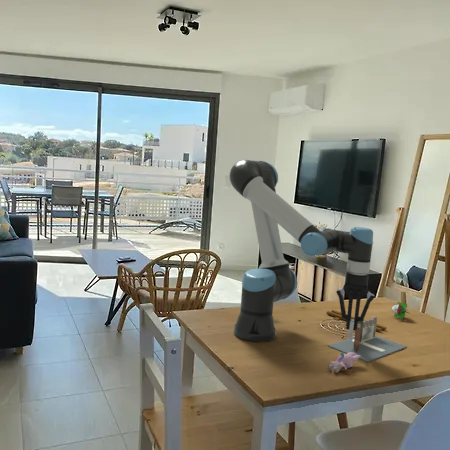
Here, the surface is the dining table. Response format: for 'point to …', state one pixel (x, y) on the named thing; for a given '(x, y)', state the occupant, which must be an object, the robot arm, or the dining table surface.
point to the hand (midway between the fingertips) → (350, 338)
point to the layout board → (368, 348)
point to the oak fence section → (357, 337)
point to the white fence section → (368, 328)
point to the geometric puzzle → (400, 310)
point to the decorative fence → (339, 316)
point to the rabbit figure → (343, 362)
